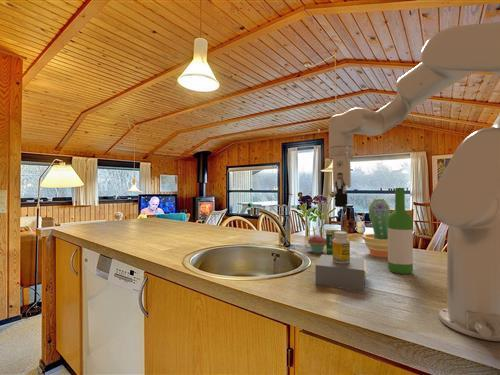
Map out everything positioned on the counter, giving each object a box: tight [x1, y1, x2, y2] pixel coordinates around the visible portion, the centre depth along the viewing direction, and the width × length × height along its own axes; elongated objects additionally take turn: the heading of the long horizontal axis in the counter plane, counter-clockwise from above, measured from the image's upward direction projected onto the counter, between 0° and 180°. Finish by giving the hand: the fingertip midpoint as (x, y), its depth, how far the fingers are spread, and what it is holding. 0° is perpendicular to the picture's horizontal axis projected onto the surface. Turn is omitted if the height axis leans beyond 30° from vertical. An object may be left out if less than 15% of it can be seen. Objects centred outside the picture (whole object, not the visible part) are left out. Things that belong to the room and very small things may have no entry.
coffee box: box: [325, 229, 348, 255], centre depth 106 cm, size 8×3×13 cm, turn 63°
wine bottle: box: [387, 187, 414, 275], centre depth 95 cm, size 8×8×30 cm
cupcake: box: [307, 226, 326, 254], centre depth 125 cm, size 9×8×12 cm
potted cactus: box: [361, 198, 391, 258], centre depth 119 cm, size 15×15×25 cm
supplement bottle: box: [332, 231, 351, 264], centre depth 86 cm, size 5×5×10 cm
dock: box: [314, 254, 367, 292], centre depth 86 cm, size 14×14×6 cm
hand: (341, 205), depth 86 cm, fingers open, 9 cm apart
